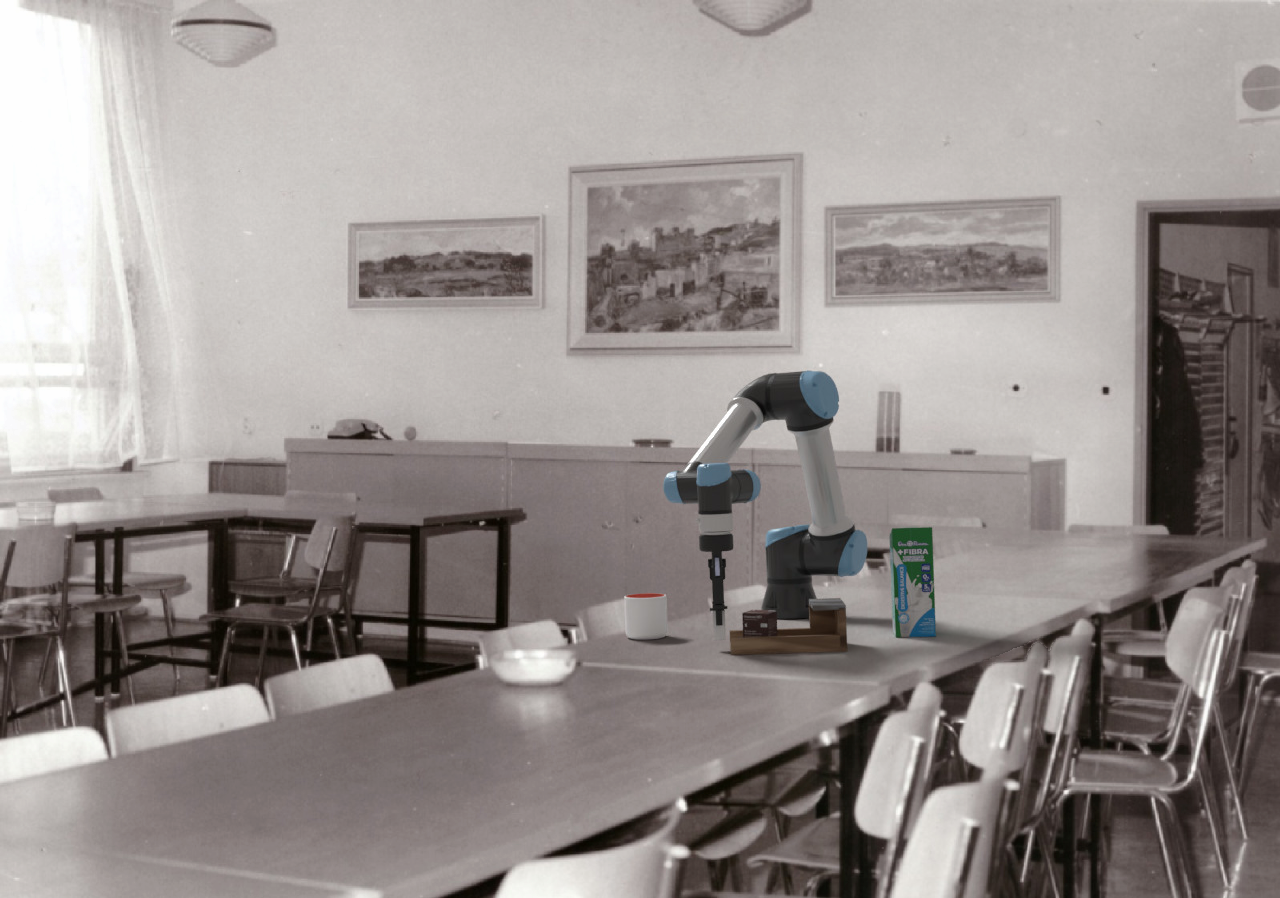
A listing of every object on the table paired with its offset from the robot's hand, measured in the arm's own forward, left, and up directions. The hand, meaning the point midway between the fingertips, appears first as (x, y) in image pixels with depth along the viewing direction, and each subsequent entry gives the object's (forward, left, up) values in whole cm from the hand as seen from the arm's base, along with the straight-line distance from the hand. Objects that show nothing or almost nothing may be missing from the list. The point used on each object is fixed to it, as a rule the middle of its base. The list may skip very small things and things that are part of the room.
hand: (719, 639), depth 319 cm
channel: (0, +15, -2) cm, 15 cm away
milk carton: (-16, +45, -3) cm, 48 cm away
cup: (-24, -17, -3) cm, 30 cm away
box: (0, +9, -2) cm, 9 cm away
